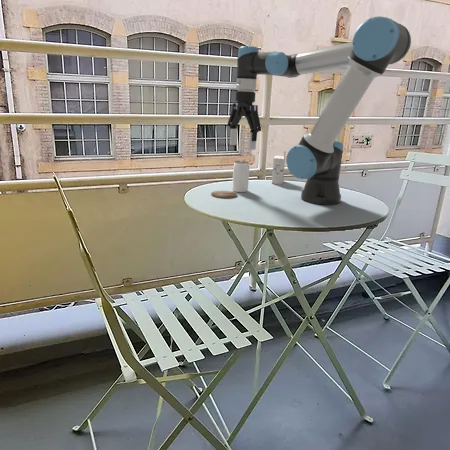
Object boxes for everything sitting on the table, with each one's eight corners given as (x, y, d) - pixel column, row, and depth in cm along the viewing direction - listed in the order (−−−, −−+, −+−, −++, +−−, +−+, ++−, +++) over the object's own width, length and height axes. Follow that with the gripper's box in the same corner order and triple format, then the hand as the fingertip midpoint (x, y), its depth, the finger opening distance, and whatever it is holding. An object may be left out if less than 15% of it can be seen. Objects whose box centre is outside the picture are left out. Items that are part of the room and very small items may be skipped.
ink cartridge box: (272, 180, 186) (275, 148, 181) (283, 181, 185) (286, 149, 180) (271, 183, 178) (274, 151, 173) (282, 184, 177) (285, 151, 172)
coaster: (241, 197, 152) (242, 195, 152) (219, 199, 147) (219, 197, 147) (228, 191, 160) (228, 189, 160) (206, 193, 155) (206, 191, 155)
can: (238, 188, 166) (240, 159, 162) (250, 191, 162) (252, 162, 158) (228, 190, 161) (230, 161, 158) (241, 193, 157) (243, 163, 154)
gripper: (220, 89, 158) (218, 143, 164) (256, 91, 138) (252, 152, 144) (236, 90, 161) (233, 142, 168) (273, 92, 141) (268, 151, 148)
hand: (242, 147), depth 156 cm, fingers open, 13 cm apart
